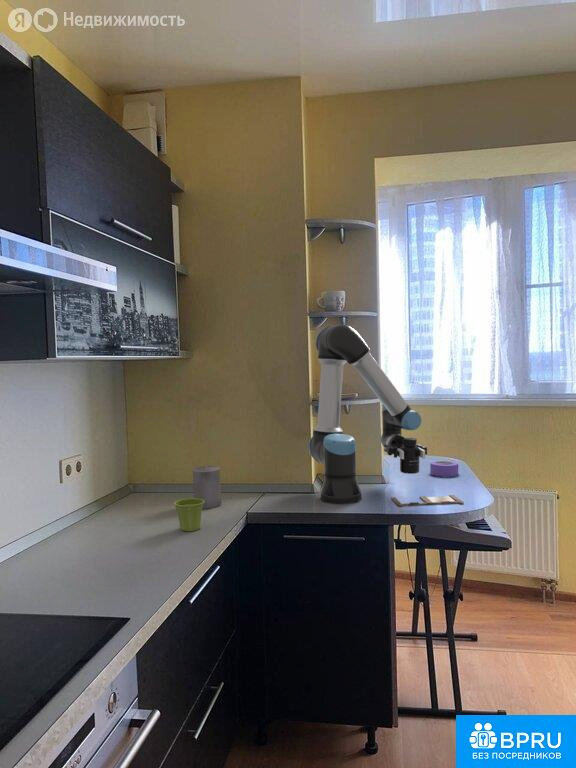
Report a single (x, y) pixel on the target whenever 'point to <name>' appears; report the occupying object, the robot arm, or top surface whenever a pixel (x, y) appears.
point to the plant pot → (189, 513)
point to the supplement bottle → (410, 456)
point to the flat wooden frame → (431, 501)
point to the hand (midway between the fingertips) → (413, 454)
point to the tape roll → (444, 468)
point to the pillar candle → (207, 485)
